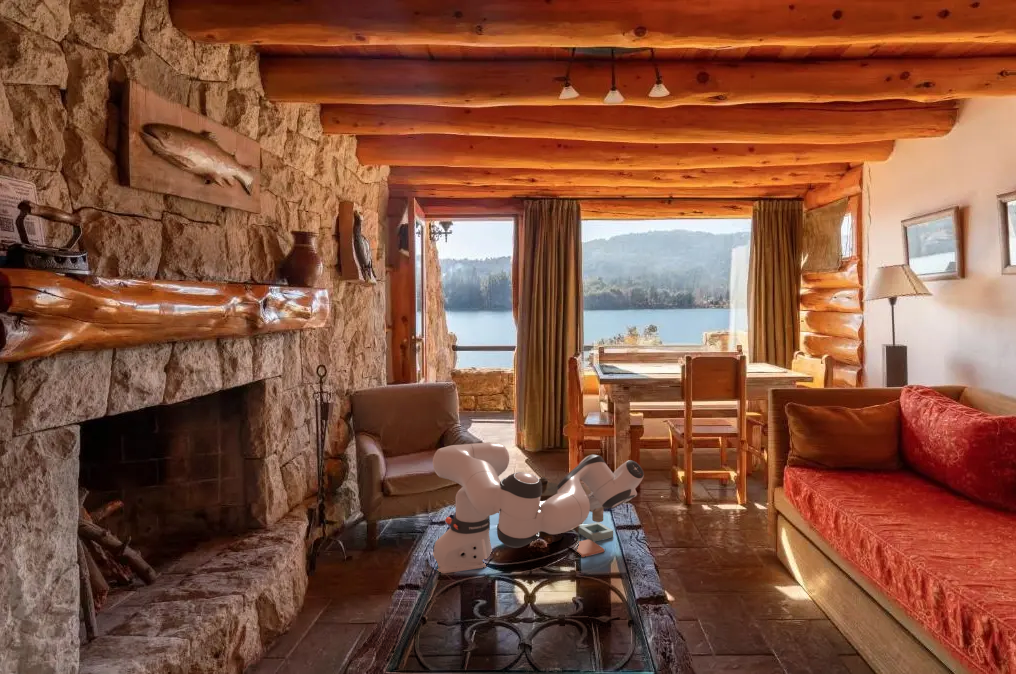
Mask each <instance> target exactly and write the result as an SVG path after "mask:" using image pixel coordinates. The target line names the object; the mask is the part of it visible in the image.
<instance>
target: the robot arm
mask: <svg viewBox="0 0 1016 674" xmlns="http://www.w3.org/2000/svg"><path fill="white" fill-rule="evenodd" d="M509 454H510V453H509V451H508V449H507V447H506V446H505V445H503V444H502V443H497V442H489V441H488V442H476V443H466V444H464V443H463V444H453V445H448V446H445V447H441V448H437V450H436V451H435V452H434V455H433V458H432V467H433V470H434V472H435V474H436V475H437V476H438V477H439V478H442V479H446V480H450V481H452V482H454V483H456V484H458V485H460V486H461V488H460V489H459V490H458V491H457V492H456V495H455V515H454V517H453V518H451V517H450V516H447V517H446V518H445V522H446V524H448V525H450V528H449V529H447V530H446V532H444V533H443V534H442V535H440V537H439V538H437V540H436V541H435V543H434V546H433V552H432V553H433V556H434V558H435V559H436V561H437V563H438V567H439V568H438V569H437V570H438V571H439V572H441V573H440V574H449V573H450V574H451V573H457V572H463V571H464V572H465V571H470V570H476V569H484V568H487V566H486V564H485V563H483V561H482V560H483V559H487V558H488V557H489V556H490V554H491V552H492V551H493V548H492V542H491V537H490V527H491V526H490V525H491V523H490V522H491V519H490V518H491V517H490V516H494V515H496V514H498V523H497V524H496V534H497V538H498V540H499V541H500V542H501V544H503V545H504V546H507V547H510V548H513V549H518V548H519V549H520V548H523V547H525V546H527V545H529V544H530V543H532V541H535V540H537V539H538V537H539V532H540V531H543V532H546V533H548V534H559V533H563V532H564V533H566V532H569V531H571V530H573V529H575V528H578V527H579V526H581V524H583V523H584V522H585V521H586V520H587V518H588V517H589V514H590V512H591V513H592V511H595V510H596V508H601V507H603V510H605V509H615V508H617V507H619V506H620V505H621V506H622V504H624V503H627V502H630V500H632V499H633V498H635V497H637V496H638V492H637V490H636V488H638V487H639V485H640V484H641V482H642V481H643V479H644V476H645V473H644V470H643V468H642V467H641V465H640V464H639V463H638V462H637V461H634V460H633V459H632V460H631V459H630V460H626V461H625V462H623V463H622V464H621V465H619V466H618V467H617V468H616V469H615V470H614V471H612V470H611V468H610V467H609V466H608V465H607V463H606V461H605V460H604V458H603V457H602V456H601V455H597V454H593V453H592V454H589V455H587V456H585V457H584V458H583V459H582V460H580V462H579V463H578V465H576V466H575V467H573V469H572V470H571V471H569V472H568V473H566V475H565V476H564V477H563V478H562V479H561V480H560V481H559V482H558V483H557V484H558V485H557V494H555V495H554V496H552V497H550V498H549V499H547V500H546V501H540V498H541V495H542V482H541V481H540V480H539V479H540V478H539V477H538V476H536V475H535V474H532V473H530V472H525V471H518V472H514V473H511V474H510V475H508V476H506V477H504V478H502V479H501V480H500V478H499V476H501V475H502V474H503V473H504V472H506V470H507V469H508V467H509V463H510V455H509ZM581 481H582V482H583V483H584V484H585V485H586V487H587V488H588V490H589V491H590V493H586V491H585V490H584V488H583V486H582V484H581ZM483 567H484V568H483ZM439 572H438V573H439Z"/></svg>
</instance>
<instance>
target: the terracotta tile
mask: <svg viewBox="0 0 1016 674" xmlns="http://www.w3.org/2000/svg"><path fill="white" fill-rule="evenodd" d="M578 542H579V546H578V549H577V552H578V553H579V554H580V555H581V556H580V555H579V554H578V555H579V556H580V557H581V558H584V557H585V556H586V557H590V556H593V555H597V554H600V553H604V552H605V548H603V547H602V546H601V545H600V544H597V543H596V542H593V541H591V540H590V539H587V538H586V539H584V540H580V541H578ZM586 557H585V558H586Z"/></svg>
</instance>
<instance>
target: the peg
mask: <svg viewBox="0 0 1016 674" xmlns="http://www.w3.org/2000/svg"><path fill="white" fill-rule="evenodd" d="M591 513H592V514H591V515H592V517H591V519H592V522H593V523H596V522H600V523H603V521H604V509H603V507H601V508H596V510H595V511H592V512H591Z"/></svg>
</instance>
